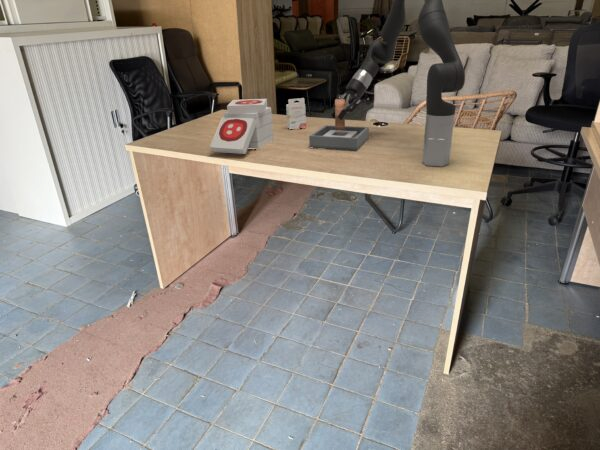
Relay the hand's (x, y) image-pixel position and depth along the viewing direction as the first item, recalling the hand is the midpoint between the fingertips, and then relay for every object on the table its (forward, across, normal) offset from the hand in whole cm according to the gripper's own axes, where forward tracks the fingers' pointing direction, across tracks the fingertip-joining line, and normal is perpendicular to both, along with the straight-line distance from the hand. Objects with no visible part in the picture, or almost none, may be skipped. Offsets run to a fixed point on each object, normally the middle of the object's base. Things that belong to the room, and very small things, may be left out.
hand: (336, 117), depth 174 cm
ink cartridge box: (+6, -36, +10) cm, 38 cm away
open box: (+7, 0, +9) cm, 11 cm away
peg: (+2, 0, +5) cm, 5 cm away
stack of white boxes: (+31, -21, -15) cm, 40 cm away
